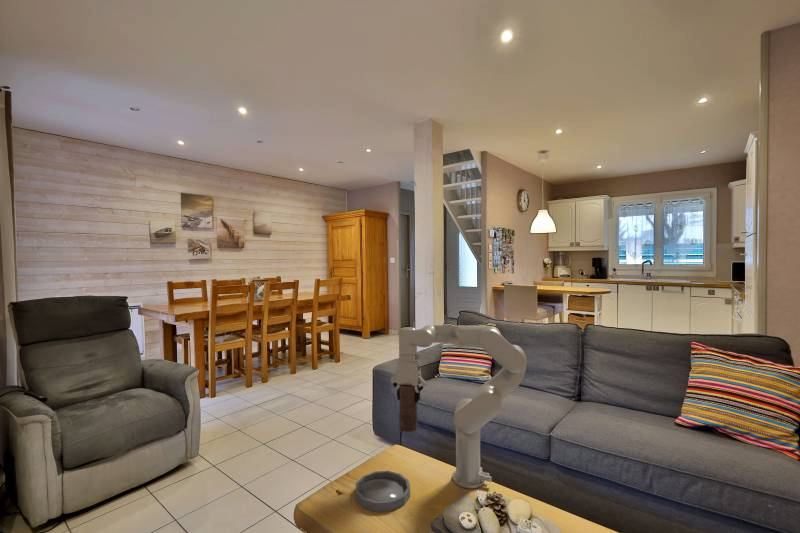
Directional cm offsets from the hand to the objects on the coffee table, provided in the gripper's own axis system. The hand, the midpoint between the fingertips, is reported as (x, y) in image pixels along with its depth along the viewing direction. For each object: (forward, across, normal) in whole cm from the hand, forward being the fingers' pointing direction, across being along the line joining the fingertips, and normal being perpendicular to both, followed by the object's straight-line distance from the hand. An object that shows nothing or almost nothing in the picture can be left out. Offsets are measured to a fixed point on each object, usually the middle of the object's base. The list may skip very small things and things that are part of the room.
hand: (408, 399), depth 150 cm
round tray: (+30, +3, +18) cm, 35 cm away
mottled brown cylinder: (+13, 0, 0) cm, 13 cm away
